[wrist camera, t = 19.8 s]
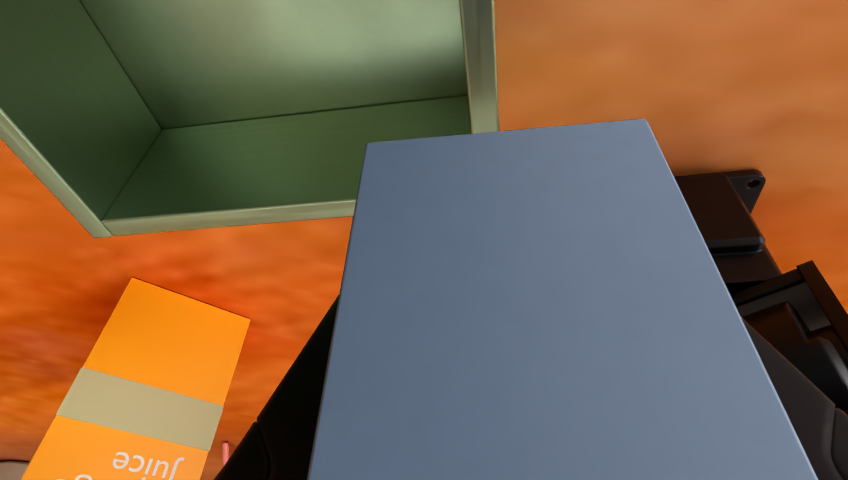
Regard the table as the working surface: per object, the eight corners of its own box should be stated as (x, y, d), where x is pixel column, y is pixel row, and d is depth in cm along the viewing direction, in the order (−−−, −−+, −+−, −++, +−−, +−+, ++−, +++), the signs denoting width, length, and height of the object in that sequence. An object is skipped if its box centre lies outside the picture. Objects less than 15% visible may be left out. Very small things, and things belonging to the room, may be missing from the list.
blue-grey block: (647, 116, 8) (830, 499, 4) (605, 289, 11) (686, 587, 7) (365, 141, 8) (300, 502, 5) (406, 299, 12) (388, 583, 8)
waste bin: (491, 98, 20) (502, 205, 16) (161, 135, 22) (93, 239, 18) (468, -331, 12) (480, -348, 8) (-62, -213, 14) (-293, -173, 9)
